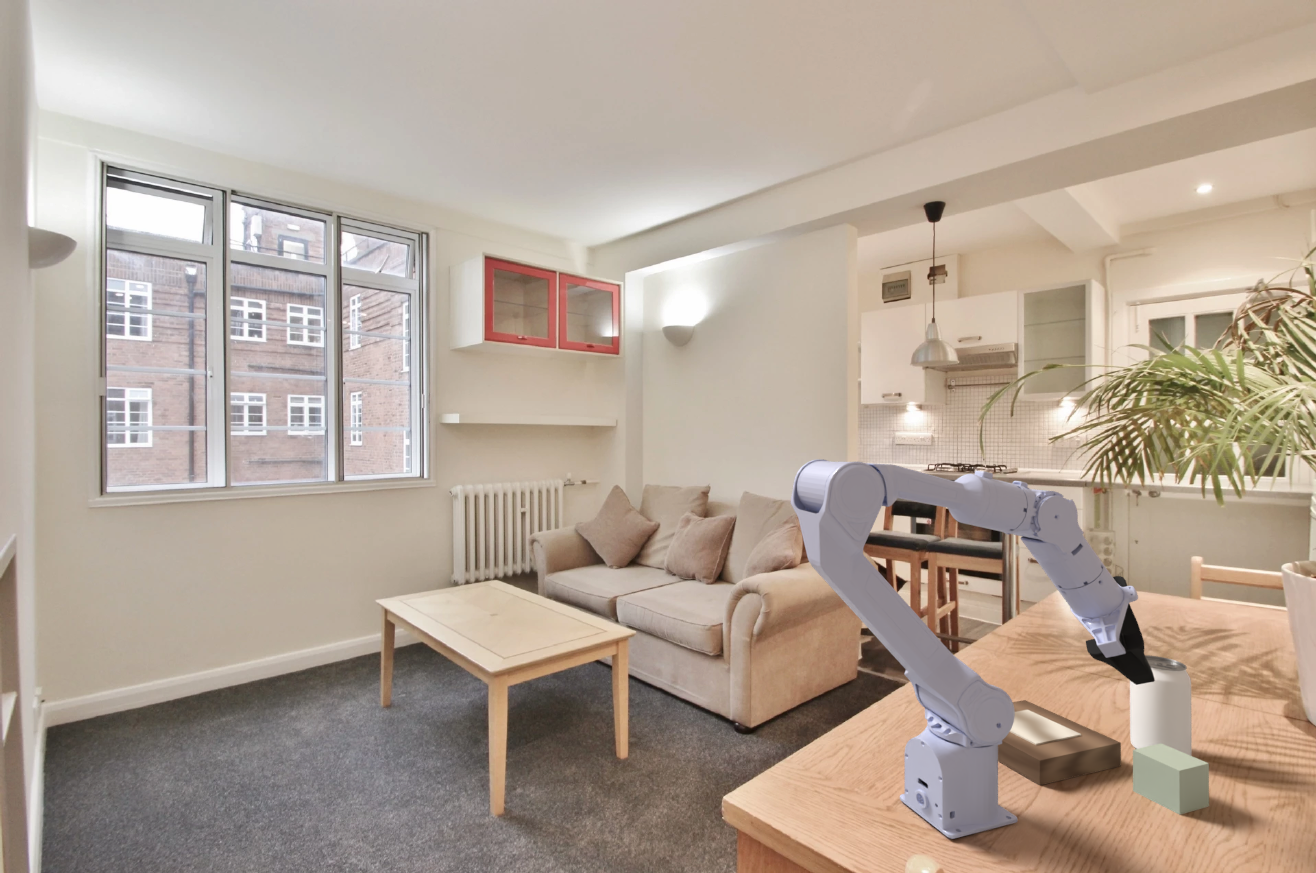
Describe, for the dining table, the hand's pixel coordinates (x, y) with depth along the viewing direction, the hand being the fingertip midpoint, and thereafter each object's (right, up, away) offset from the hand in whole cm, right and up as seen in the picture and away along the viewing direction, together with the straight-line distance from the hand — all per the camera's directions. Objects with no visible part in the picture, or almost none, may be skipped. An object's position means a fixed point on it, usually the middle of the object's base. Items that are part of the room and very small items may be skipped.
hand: (1137, 657), depth 75 cm
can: (+10, -16, +9) cm, 21 cm away
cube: (+2, -16, -2) cm, 16 cm away
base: (-7, -16, +9) cm, 20 cm away
